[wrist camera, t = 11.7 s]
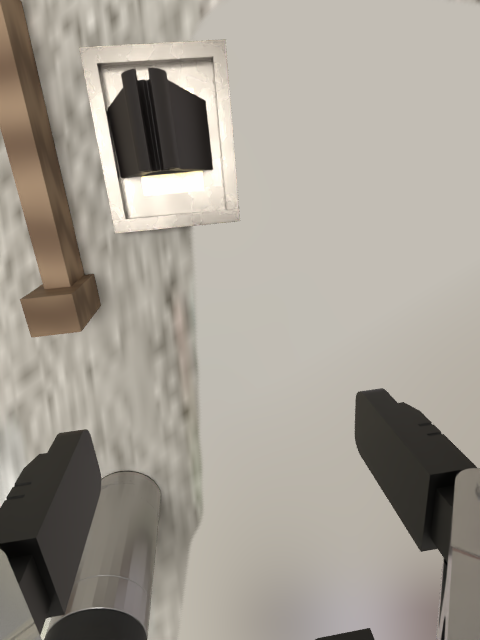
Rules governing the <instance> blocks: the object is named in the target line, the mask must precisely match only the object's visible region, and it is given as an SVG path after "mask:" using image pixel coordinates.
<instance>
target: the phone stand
mask: <svg viewBox="0 0 480 640" xmlns="http://www.w3.org/2000/svg"><path fill="white" fill-rule="evenodd" d="M148 73H149V80H138V79H137V73H136V70H135V69H130V70H127V71H124V72H123V73H122V74H121V78H122V84H123V88H122V89H121V91H120V92H119V93H118V95H117V96H116V98H115V99H114V100H113V102H112V103H111V105H110V106H109V107H108V114H109V119H110V125H111V130H112V135H113V140H114V145H115V151H116V156H117V161H118V166H119V171H120V177H121V179H122V178H133V177H143V176H153V175H163V174H174V173H184V172H194V171H204V170H213V163H212V154H211V145H210V136H209V127H208V118H207V109H206V101H205V100H203V99H202V98H200V97H198V96H196V95H194V94H193V93H191V92H189V91H187V90H185V89H184V88H182V87H180V86H178V85H177V84H175V83H173V82H171V81H169V80H168V79H167V72H166V71H165V70H162V69H159V68H148Z"/></svg>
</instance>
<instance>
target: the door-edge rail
mask: <svg viewBox="0 0 480 640" xmlns="http://www.w3.org/2000/svg"><path fill="white" fill-rule="evenodd" d="M0 128H1V132H2V135H3V139H4V143H5V146H6V150H7V154H8V157H9V161H10V165H11V168H12V172H13V176H14V179H15V183H16V187H17V190H18V194H19V198H20V201H21V205H22V209H23V212H24V216H25V220H26V223H27V227H28V231H29V234H30V238H31V242H32V245H33V249H34V253H35V256H36V260H37V264H38V267H39V271H40V275H41V278H42V282H43V285H41V286H40V287H38V288H37V289H35V290H34V291H32V292H31V293H29V294H28V295H26V296H25V297H23V298H22V299H20V301H21V304H22V308H23V311H24V314H25V318H26V321H27V324H28V328H29V331H30V334H31V337H39V336H48V335H56V334H65V333H73V332H81V331H82V330H83V329H84V327H85V326H86V325H87V323H88V322H89V321H90V319H91V318H92V317H93V315H94V314H95V313H96V311H97V310H98V309H99V307H100V306H101V304H100V299H99V295H98V290H97V286H96V281H95V277H94V274H88V275H84V271H83V266H82V262H81V258H80V253H79V249H78V245H77V241H76V236H75V232H74V228H73V223H72V219H71V215H70V210H69V206H68V202H67V197H66V193H65V189H64V184H63V180H62V176H61V171H60V167H59V163H58V158H57V154H56V150H55V145H54V141H53V137H52V132H51V128H50V124H49V119H48V115H47V111H46V106H45V102H44V98H43V93H42V89H41V85H40V80H39V76H38V72H37V67H36V63H35V59H34V54H33V50H32V46H31V41H30V37H29V33H28V28H27V24H26V20H25V15H24V11H23V7H22V2H21V1H20V0H0Z"/></svg>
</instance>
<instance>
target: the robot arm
mask: <svg viewBox="0 0 480 640" xmlns="http://www.w3.org/2000/svg"><path fill="white" fill-rule="evenodd" d="M355 441H356V445H357V448H358V451H359V453H360V455H361V457H362V459H363V460H364V462H365V463H366V465H367V466H368V468H369V470H370V471H371V473H372V474H373V476H374V478H375V479H376V481H377V482H378V484H379V486H380V487H381V489H382V490H383V492H384V494H385V495H386V497H387V498H388V500H389V502H390V503H391V505H392V506H393V508H394V509H395V511H396V513H397V514H398V516H399V518H400V519H401V521H402V522H403V524H404V525H405V527H406V529H407V530H408V532H409V533H410V535H411V537H412V538H413V540H414V541H415V543H416V545H417V546H418V548H419V549H420V551H421V552H422V551H427V550H433V549H438V550H439V551H440V553H441V554H442V556H443V557H444V559H443V566H442V577H441V589H440V602H439V613H438V625H437V638H436V640H480V468H477V467H476V466H475V465H474V464H473V463H472V462H471V461H470V460H469V459H468V458H467V457H466V456H465V455H464V454H463V453H462V452H461V451H460V450H459V449H458V448H457V447H456V446H455V445H454V444H453V443H452V442H451V441H450V440H449V439H448V438H447V437H446V436H445V435H444V434H441V431H440V430H439V429H438V428H437V427H436V426H434V425H432V424H431V421H429V420H428V419H427V418H426V417H425V416H424V415H423V414H422V413H421V412H420V411H419V410H417V409H415V408H413V407H411V406H410V405H408V404H405V403H404V402H402V403H397V402H396V401H395V400H394V399H393V398H392V397H391V396H390V394H389V393H388V392H387V391H386V390H385V389H375V390H368V391H360V392H358V393H357V395H356V409H355ZM160 501H161V494H160V490H159V488H158V486H157V485H156V484H155V482H154V481H153V480H151V479H150V478H149V477H147V476H145V475H143V474H139V473H136V472H118V473H114V474H111V475H109V476H106V477H105V478H103V479H102V480H101V473H100V469H99V465H98V461H97V458H96V454H95V450H94V446H93V443H92V439H91V435H90V433H89V431H88V430H78V431H71V432H64V433H59V434H58V435H57V436H56V438H55V440H54V442H53V444H52V445H51V447H50V449H49V451H48V453H45V454H39V455H38V456H37V457H36V458H35V459H34V460H33V461H31V462H30V463H29V464H28V465H27V466H26V467H25V468H24V469H23V471H22V472H21V474H20V476H19V477H18V479H17V481H16V483H15V487H13V488H12V489H11V491H10V493H9V494H8V496H7V500H6V501H4V503H3V505H2V506H1V508H0V640H42V639H41V637H40V634H41V631H42V628H43V625H44V622H45V619H46V618H49V617H51V621H50V624H49V627H48V630H47V633H46V636H45V639H44V640H147V636H148V626H149V616H150V604H151V594H152V584H153V573H154V563H155V553H156V543H157V532H158V523H159V512H160ZM316 640H374V637H373V635H372V633H371V630H370V628H367V629H362V630H358V631H352V632H347V633H342V634H337V635H332V636H327V637H322V638H318V639H316Z"/></svg>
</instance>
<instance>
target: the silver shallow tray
mask: <svg viewBox="0 0 480 640" xmlns="http://www.w3.org/2000/svg"><path fill="white" fill-rule="evenodd" d="M79 49H80V54H81V60H82V65H83V70H84V75H85V80H86V85H87V91H88V96H89V101H90V106H91V111H92V116H93V121H94V127H95V132H96V137H97V142H98V147H99V152H100V157H101V163H102V168H103V173H104V178H105V183H106V188H107V194H108V199H109V204H110V209H111V214H112V219H113V224H114V230H115V233H123V232H133V231H144V230H154V229H164V228H175V227H185V226H195V225H206V224H216V223H226V222H237V221H240V215H239V203H238V192H237V177H236V165H235V153H234V140H233V128H232V115H231V102H230V89H229V77H228V65H227V52H226V40H206V41H188V42H169V43H151V44H133V45H114V46H96V47H79ZM148 68H159V69H162V70H165V71H166V72H167V79H168V80H169V81H171V82H173V83H175V84H177V85H178V86H180V87H182V88H184V89H185V90H187V91H189V92H191V93H193V94H194V95H196V96H198V97H200V98H202V99H203V100H205V101H206V109H207V118H208V127H209V136H210V145H211V154H212V163H213V170H204V171H194V172H184V173H174V174H163V175H153V176H143V177H133V178H122V179H121V177H120V171H119V166H118V161H117V156H116V151H115V145H114V140H113V135H112V130H111V125H110V119H109V114H108V107H109V106H110V105H111V103H112V102H113V100H114V99H115V98H116V96H117V95H118V93H119V92H120V91H121V89H122V88H123V84H122V78H121V74H122V73H123V72H124V71H127V70H130V69H135V70H136V73H137V79H138V80H149V73H148Z"/></svg>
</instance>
